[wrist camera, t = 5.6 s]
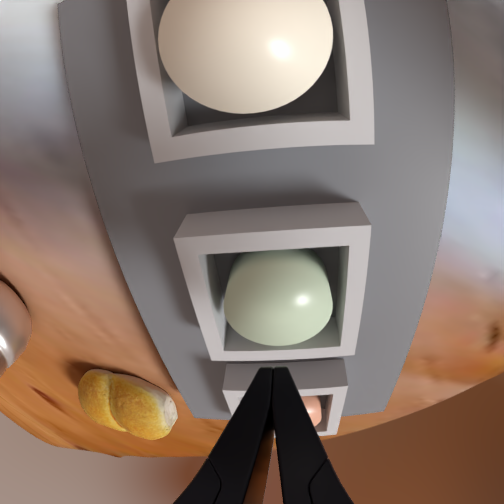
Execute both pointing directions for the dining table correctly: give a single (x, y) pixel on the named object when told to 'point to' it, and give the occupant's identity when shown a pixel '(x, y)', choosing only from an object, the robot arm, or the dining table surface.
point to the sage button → (278, 296)
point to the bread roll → (127, 404)
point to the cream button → (245, 50)
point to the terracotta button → (313, 407)
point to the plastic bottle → (12, 327)
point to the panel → (272, 194)
